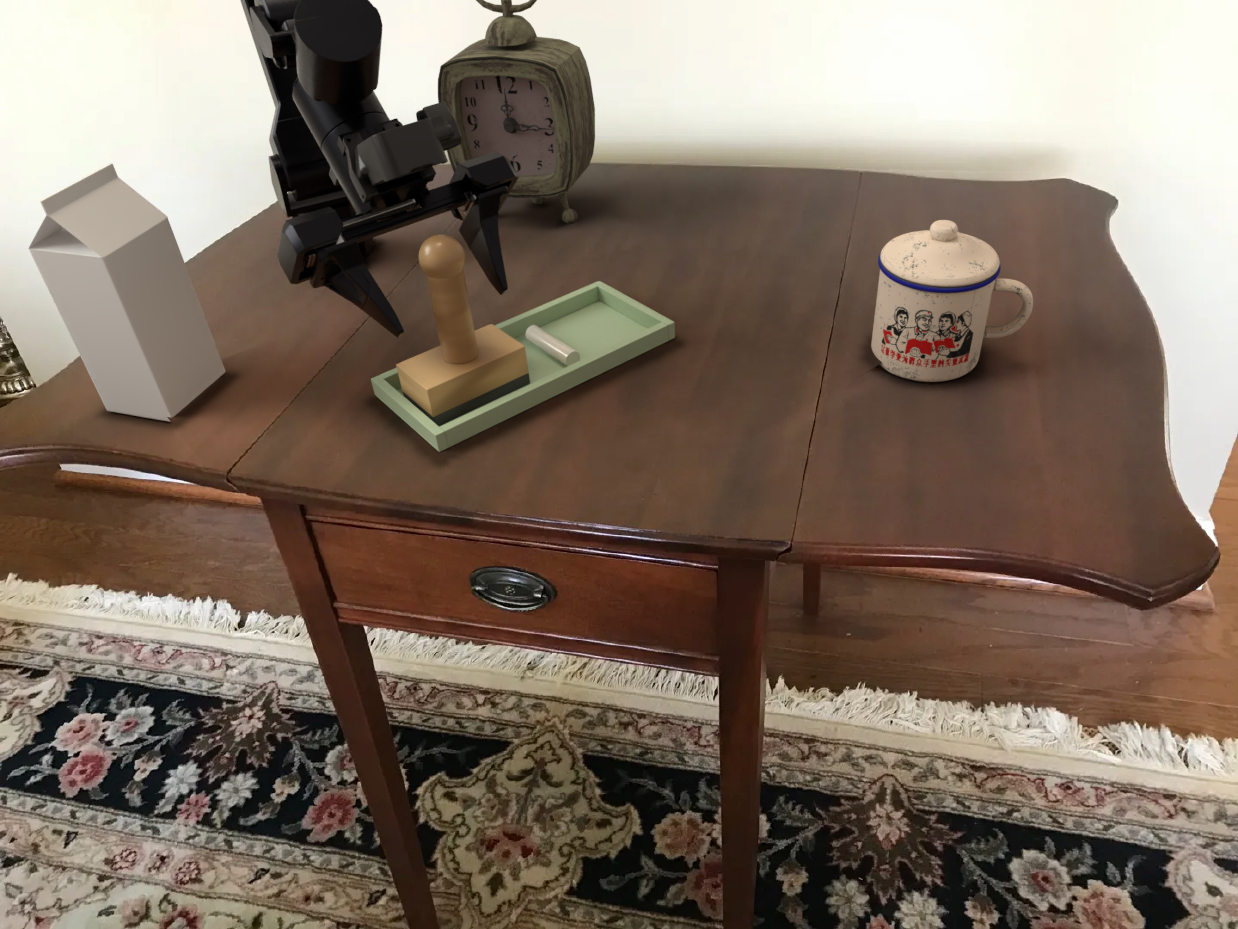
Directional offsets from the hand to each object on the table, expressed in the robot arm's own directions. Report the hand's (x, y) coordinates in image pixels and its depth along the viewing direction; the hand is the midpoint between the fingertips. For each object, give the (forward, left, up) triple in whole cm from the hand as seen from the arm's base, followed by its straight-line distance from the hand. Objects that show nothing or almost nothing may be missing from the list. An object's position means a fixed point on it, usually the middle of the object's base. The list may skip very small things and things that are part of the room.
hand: (454, 312), depth 73 cm
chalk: (+6, +7, -7) cm, 12 cm away
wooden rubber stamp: (0, 0, -7) cm, 8 cm away
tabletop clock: (-2, +37, -8) cm, 38 cm away
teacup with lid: (+38, +7, -8) cm, 40 cm away
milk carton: (-27, 0, -8) cm, 28 cm away
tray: (+4, +5, -8) cm, 10 cm away
